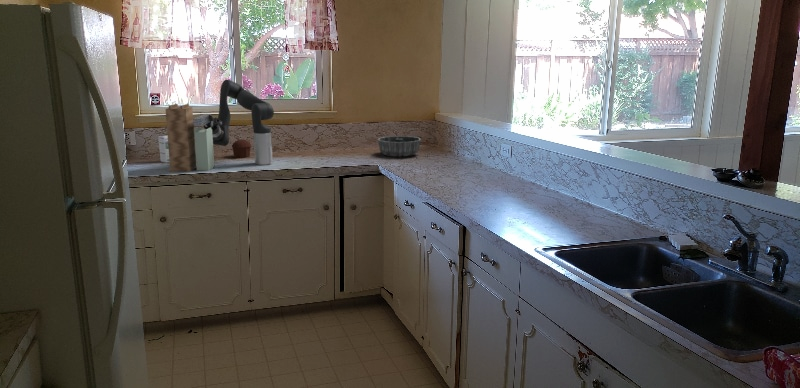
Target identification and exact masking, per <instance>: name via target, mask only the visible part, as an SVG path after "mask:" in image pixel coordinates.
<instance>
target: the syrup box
mask: <svg viewBox="0 0 800 388" xmlns="http://www.w3.org/2000/svg"><path fill="white" fill-rule="evenodd" d="M157 137H158V139H157V140H158V147H159V155H160V156H159V158H160V162H162V163H170V161H169V148H168V135H167V134H166V135H159V136H157Z"/></svg>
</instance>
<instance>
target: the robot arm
mask: <svg viewBox="0 0 800 388" xmlns="http://www.w3.org/2000/svg"><path fill="white" fill-rule="evenodd" d="M228 98H230V99H234V100H237V103H238V104H239V105H240V107H242V108H243V109H245V110H248V111H251V122H252V130H253V144H254V145H253V148H254V151H253V152H254V164H255V165H259V166H261V165H262V166H263V165H264V166H265V165H266V166H267V165H272V164H273V145H272V133H271V132H272V130H271V127H270V126H268V125H265V124H263V123H262V121H267V120H268V121H269V120H271V119H272V118H273V117H274V113H275V112H274V108H273V106H272V105H271V104H270V103H269V102H266V101H264V100H262V99H261V98H259V97H257V96H255V95H254V94H253V93H251V91H248V90H245V89H244V87H243V86H241V85H240V84H239V83H237V82H235V81H233V80H230V79H225V80H223V81H222V83H221V86H220V91H219V109H218V116H217V117H213V115H212V114H211V115H209V120H210V121H211V122H210V123H208V124H206V125H204V126H203V129H208V128H210V127H211V129H212V136H213V146H214V145H215V146H223V147H226V146H228V145H229V143H230V137H229V136H230V135H229V134H230V133H229V127H230V123H231V112H230V108H229V105H228V104H229V103H228ZM200 115H201V114H199V115H198V116H200Z"/></svg>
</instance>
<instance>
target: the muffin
mask: <svg viewBox="0 0 800 388" xmlns="http://www.w3.org/2000/svg"><path fill="white" fill-rule="evenodd" d="M231 148H232V152H233V156H234V158H235V159H238V158H239V159H245V158H246V159H247V158H250V156H251V149H252V144H251V143H250V141H248V140H247V139H243V138H241V139H237V140H234V142H233V143H232V145H231Z"/></svg>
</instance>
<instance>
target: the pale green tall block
mask: <svg viewBox="0 0 800 388" xmlns="http://www.w3.org/2000/svg"><path fill="white" fill-rule="evenodd" d="M194 139H195V154H196V171H210V170H211V169H213V168H214V167H215V159H214V158H215V157H214V156H215V155H214V154H215V153H214V144H213V136H212V129H211V127H210V128H208V129H205V128H203V129H202V128H201V126H198V127H196V128H194Z"/></svg>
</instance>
